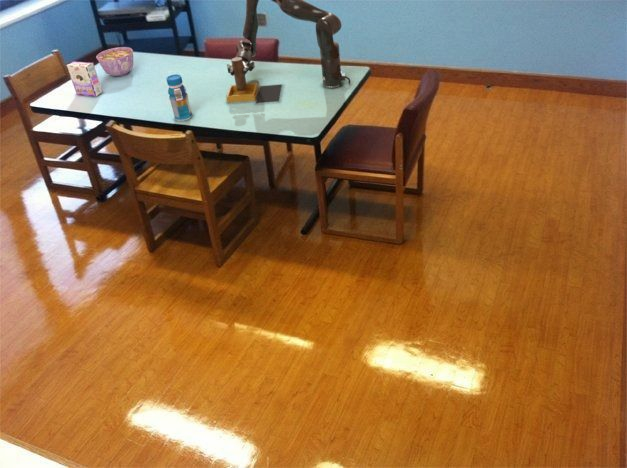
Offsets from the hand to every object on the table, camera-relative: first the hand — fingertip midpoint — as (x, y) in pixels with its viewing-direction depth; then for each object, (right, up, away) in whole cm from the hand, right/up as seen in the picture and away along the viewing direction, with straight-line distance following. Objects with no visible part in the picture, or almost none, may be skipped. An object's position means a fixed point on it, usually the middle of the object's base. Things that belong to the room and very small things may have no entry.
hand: (238, 73), depth 285 cm
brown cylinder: (+1, -6, +7) cm, 9 cm away
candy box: (-83, -2, +32) cm, 89 cm away
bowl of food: (-73, +14, +52) cm, 91 cm away
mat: (+14, -8, +9) cm, 19 cm away
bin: (+1, -9, +10) cm, 13 cm away
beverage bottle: (-25, -22, -3) cm, 33 cm away
